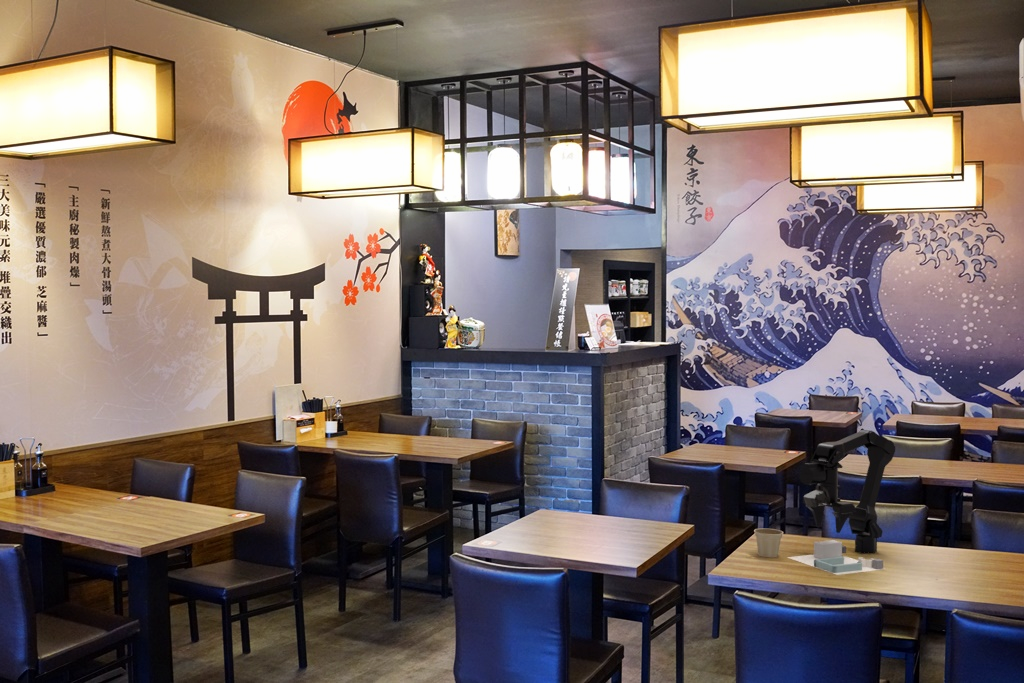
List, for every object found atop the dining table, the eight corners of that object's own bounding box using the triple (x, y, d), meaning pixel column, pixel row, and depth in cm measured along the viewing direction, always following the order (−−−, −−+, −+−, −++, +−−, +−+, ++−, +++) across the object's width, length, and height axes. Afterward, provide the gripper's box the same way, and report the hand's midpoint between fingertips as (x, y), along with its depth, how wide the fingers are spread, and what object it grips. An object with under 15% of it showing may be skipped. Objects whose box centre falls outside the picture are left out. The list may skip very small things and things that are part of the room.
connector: (813, 557, 305) (814, 541, 305) (839, 554, 309) (839, 539, 309) (822, 559, 301) (822, 544, 301) (848, 557, 305) (848, 541, 305)
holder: (814, 566, 293) (814, 559, 293) (841, 563, 297) (841, 556, 297) (834, 573, 285) (834, 566, 285) (862, 569, 289) (862, 563, 289)
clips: (866, 563, 297) (866, 556, 297) (878, 567, 292) (878, 560, 292) (855, 564, 295) (855, 557, 295) (866, 568, 290) (866, 561, 290)
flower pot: (780, 554, 312) (780, 528, 312) (785, 561, 302) (785, 534, 302) (751, 553, 313) (751, 527, 313) (756, 560, 303) (756, 534, 303)
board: (832, 554, 312) (832, 552, 312) (885, 571, 290) (885, 569, 290) (786, 559, 304) (786, 557, 304) (837, 577, 283) (837, 574, 283)
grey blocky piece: (868, 563, 296) (868, 555, 296) (883, 568, 290) (883, 560, 290) (856, 565, 294) (856, 557, 294) (871, 570, 288) (871, 561, 288)
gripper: (789, 479, 310) (789, 526, 310) (828, 488, 292) (828, 537, 293) (816, 477, 314) (816, 523, 314) (856, 486, 297) (856, 534, 297)
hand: (828, 529), depth 304 cm, fingers open, 9 cm apart
